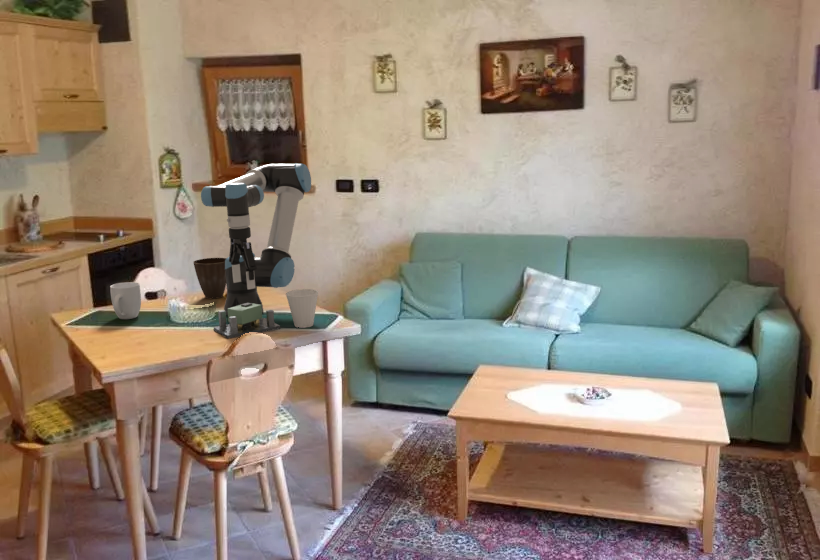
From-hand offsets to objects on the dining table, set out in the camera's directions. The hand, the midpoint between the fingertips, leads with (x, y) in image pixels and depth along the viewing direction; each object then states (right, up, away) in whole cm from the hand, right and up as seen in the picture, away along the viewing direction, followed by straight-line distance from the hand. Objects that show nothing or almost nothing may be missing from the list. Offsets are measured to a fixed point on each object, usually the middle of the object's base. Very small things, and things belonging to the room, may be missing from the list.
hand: (244, 285), depth 278 cm
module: (0, -13, +2) cm, 13 cm away
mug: (-51, -13, +25) cm, 59 cm away
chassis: (0, -16, +3) cm, 16 cm away
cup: (+21, -15, +7) cm, 26 cm away
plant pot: (-25, -5, +57) cm, 63 cm away
